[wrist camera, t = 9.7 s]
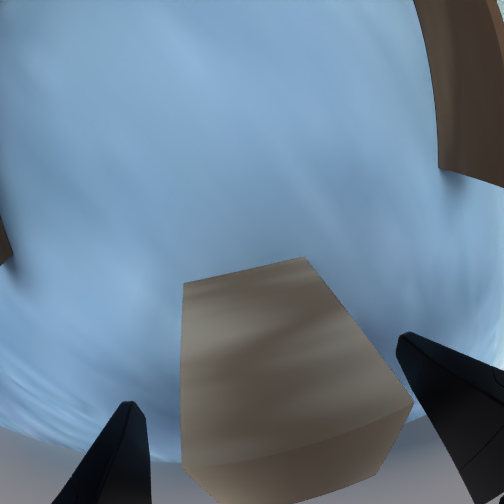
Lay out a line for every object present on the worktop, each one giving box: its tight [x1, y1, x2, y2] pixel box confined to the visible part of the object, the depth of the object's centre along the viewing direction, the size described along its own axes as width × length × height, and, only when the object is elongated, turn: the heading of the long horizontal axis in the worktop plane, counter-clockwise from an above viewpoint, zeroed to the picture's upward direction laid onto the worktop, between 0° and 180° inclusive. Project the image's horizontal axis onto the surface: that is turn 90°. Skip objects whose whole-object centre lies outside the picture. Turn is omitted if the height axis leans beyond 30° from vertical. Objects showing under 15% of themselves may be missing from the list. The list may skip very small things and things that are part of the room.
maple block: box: [180, 257, 414, 504], centre depth 8 cm, size 4×4×7 cm
